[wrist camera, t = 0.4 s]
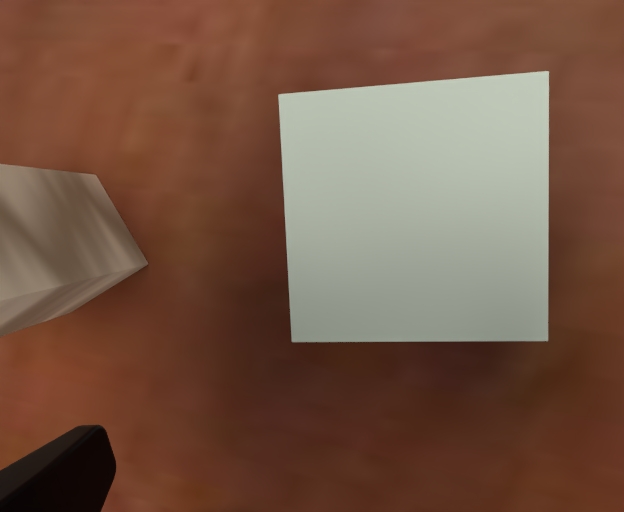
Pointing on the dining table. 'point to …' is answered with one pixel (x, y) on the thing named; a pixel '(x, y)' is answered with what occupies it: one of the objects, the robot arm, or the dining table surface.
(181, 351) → the dining table surface
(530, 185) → the sage block
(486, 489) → the dining table surface
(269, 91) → the dining table surface
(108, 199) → the birch pillar
